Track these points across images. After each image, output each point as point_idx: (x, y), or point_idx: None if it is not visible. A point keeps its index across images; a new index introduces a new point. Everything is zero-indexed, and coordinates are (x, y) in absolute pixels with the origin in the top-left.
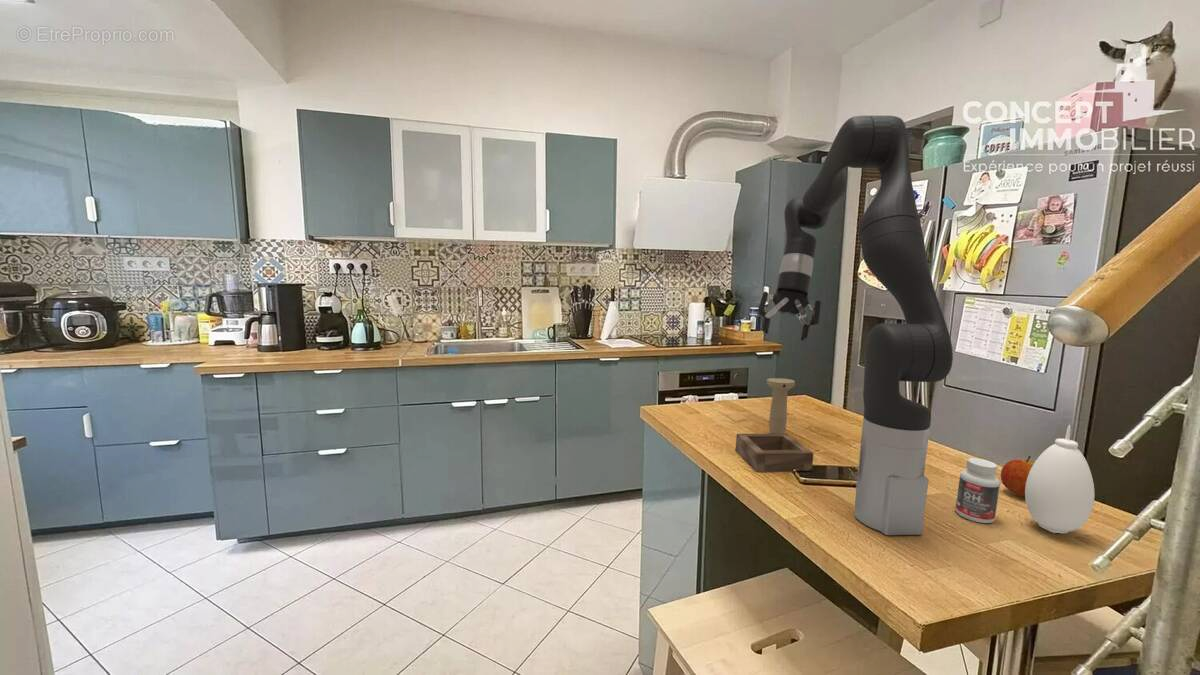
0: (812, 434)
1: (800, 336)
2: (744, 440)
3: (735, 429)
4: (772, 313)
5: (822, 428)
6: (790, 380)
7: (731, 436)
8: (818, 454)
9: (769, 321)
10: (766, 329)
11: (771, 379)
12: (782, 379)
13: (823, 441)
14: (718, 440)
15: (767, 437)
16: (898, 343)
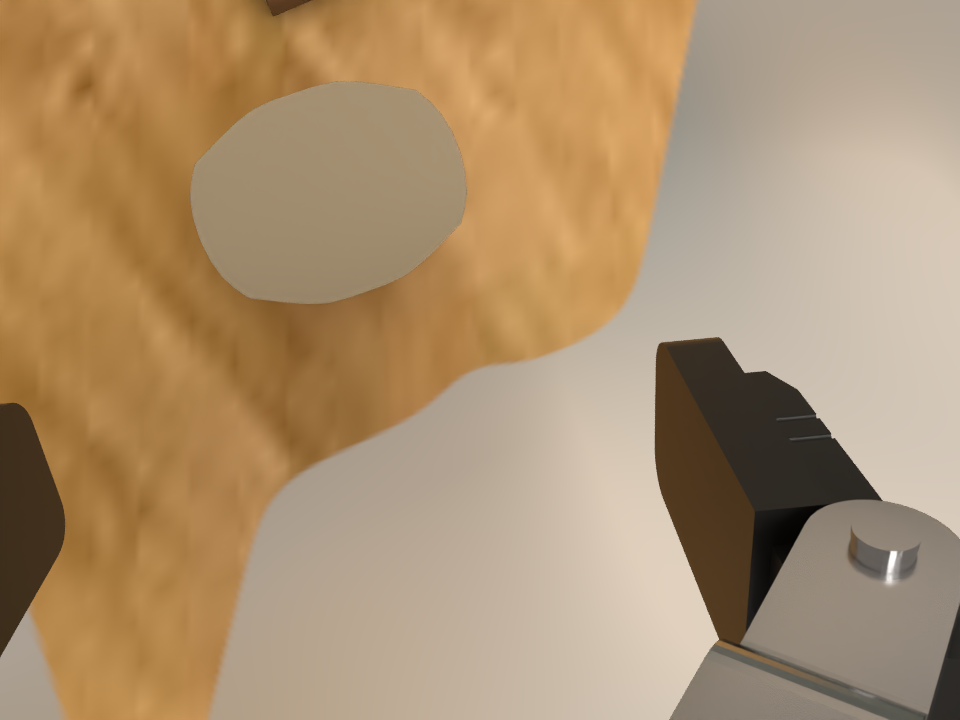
0: (109, 395)
1: (18, 528)
2: None
3: (571, 292)
4: (794, 625)
5: None
6: (236, 242)
7: (588, 146)
8: (77, 10)
9: (744, 471)
10: (715, 358)
11: (424, 203)
12: (317, 255)
13: (42, 280)
14: (655, 41)
15: None
16: None
